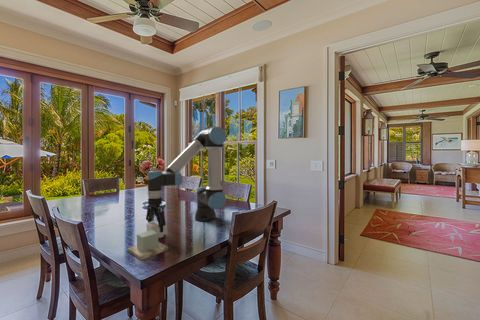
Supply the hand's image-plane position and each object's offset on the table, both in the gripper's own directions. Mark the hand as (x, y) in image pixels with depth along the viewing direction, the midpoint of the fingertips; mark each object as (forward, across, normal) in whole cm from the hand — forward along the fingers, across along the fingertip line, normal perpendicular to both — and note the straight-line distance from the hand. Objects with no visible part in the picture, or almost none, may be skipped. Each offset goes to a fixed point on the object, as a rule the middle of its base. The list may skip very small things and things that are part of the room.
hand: (155, 234), depth 135 cm
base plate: (0, +16, -13) cm, 21 cm away
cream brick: (0, 0, 0) cm, 0 cm away
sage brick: (-1, +16, -13) cm, 21 cm away
